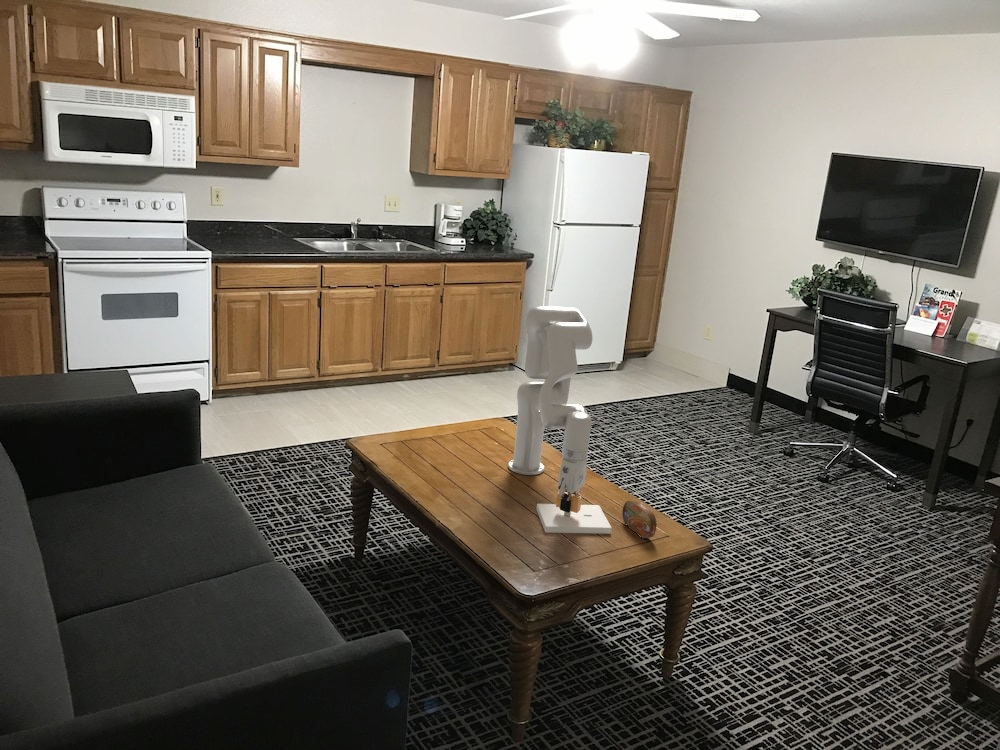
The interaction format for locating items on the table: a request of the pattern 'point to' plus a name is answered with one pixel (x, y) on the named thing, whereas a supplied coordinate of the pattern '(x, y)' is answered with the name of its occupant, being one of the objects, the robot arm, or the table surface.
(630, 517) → the tin
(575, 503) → the orange block on post
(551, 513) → the base plate
